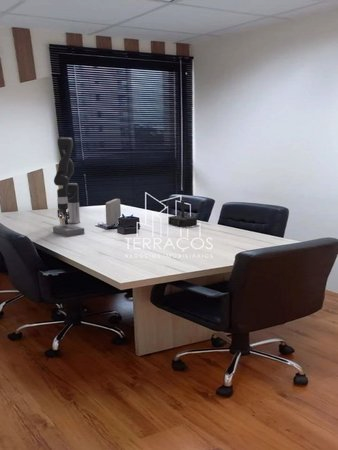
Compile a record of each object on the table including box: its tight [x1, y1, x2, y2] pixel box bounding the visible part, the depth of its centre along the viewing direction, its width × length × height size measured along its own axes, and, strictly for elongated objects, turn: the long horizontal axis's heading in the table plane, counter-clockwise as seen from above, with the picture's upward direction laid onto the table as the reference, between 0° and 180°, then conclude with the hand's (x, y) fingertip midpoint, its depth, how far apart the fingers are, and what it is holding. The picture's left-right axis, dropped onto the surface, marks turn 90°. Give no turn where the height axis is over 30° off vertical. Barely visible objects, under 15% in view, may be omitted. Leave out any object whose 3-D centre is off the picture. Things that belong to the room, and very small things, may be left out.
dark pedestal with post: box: [167, 199, 198, 228], centre depth 341 cm, size 19×17×20 cm
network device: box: [105, 198, 122, 226], centre depth 343 cm, size 26×9×20 cm, turn 168°
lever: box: [59, 217, 68, 227], centre depth 320 cm, size 3×5×6 cm, turn 132°
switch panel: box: [52, 223, 85, 237], centre depth 316 cm, size 22×14×4 cm, turn 42°
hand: (63, 223), depth 320 cm, fingers open, 8 cm apart
